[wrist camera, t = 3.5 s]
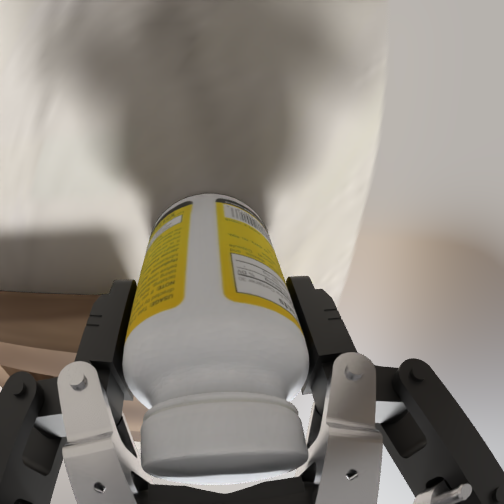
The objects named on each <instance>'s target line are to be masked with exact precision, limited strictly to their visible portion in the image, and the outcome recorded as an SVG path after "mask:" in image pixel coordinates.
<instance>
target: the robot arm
mask: <svg viewBox="0 0 504 504" xmlns="http://www.w3.org/2000/svg"><path fill="white" fill-rule="evenodd" d="M286 286H287V289H288V291H289V294H290V297H291V300H292V303H293V306H294V309H295V312H296V315H297V318H298V321H299V323H300V326H301V329H302V332H303V335H304V338H305V341H306V346H307V349H308V354H309V372H308V375H307V379H306V381H305V383H304V385H303V387H302V389H301V391H302V395H304V394H311V393H312V394H313V398H314V403H313V405H312V410H311V415H310V421H309V426H308V430H307V435H306V440H305V441H306V445H307V449H308V454H309V456H308V460H307V462H306V463H305V464H303V465H302V466H301V467H299V468H297V469H296V473H295V477H293V478H288V479H281V480H275V481H267V482H263V483H260V484H257V485H254V486H252V487H248V488H245V489H242V490H239V491H236V492H232V493H228V494H222V493H216V492H211V491H206V490H201V489H196V488H192V487H187V486H173V485H171V486H170V485H156V484H155V483H154V481H153V479H152V477H151V475H149V474H147V473H146V472H145V471H144V470H143V468H142V467H141V457H140V455H139V453H138V450H137V448H136V445H135V443H134V440H133V438H132V435H131V432H130V430H129V427H128V424H127V421H126V419H125V416H124V413H123V411H122V409H123V400H128V401H133V396H134V395H133V393H132V392H131V390H130V389H129V387H128V385H127V383H126V381H125V378H124V374H123V366H122V362H123V352H124V344H125V339H126V334H127V329H128V325H129V320H130V316H131V311H132V306H133V302H134V298H135V294H136V290H137V285H136V282H135V280H115V281H114V282H113V285H112V287H111V290H110V293H109V294H102V295H101V296H100V297H99V298H98V299H97V300H96V301H95V302H94V304H93V306H92V309H91V312H90V314H89V316H90V317H88V320H87V323H86V326H85V329H84V332H83V335H82V338H81V341H80V344H79V348H78V351H77V354H76V358H75V361H74V362H73V363H70V364H68V365H67V366H65V367H64V368H63V369H62V371H61V372H60V374H59V376H58V377H55V378H50V379H44V380H39V381H36V380H35V379H34V377H33V376H32V375H31V374H29V373H28V372H24V371H20V372H16V373H14V374H12V375H11V376H10V377H9V378H8V379H7V381H6V383H5V385H4V386H3V388H2V390H1V392H0V504H50V501H51V498H52V494H53V490H54V486H55V483H56V480H57V477H58V473H59V470H60V467H61V464H62V461H63V459H64V463H65V466H66V470H67V473H68V477H69V480H70V483H71V486H72V490H73V492H74V495H75V498H76V501H77V504H377V497H378V490H379V482H380V473H381V462H382V448H383V444H384V446H385V447H386V449H387V451H388V452H389V454H390V456H391V457H392V459H393V461H394V462H395V464H396V466H397V467H398V469H399V470H400V472H401V474H402V475H403V477H404V479H405V480H406V482H407V484H408V485H409V487H410V489H411V490H412V492H413V494H414V495H415V497H416V499H415V500H414V503H413V504H504V472H503V470H502V468H501V467H500V465H499V464H498V462H497V460H496V459H495V457H494V456H493V454H492V452H491V451H490V450H489V448H488V446H487V445H486V443H485V442H484V441H483V439H482V437H481V436H480V434H479V433H478V431H477V430H476V428H475V427H474V426H473V424H472V423H471V422H470V420H469V418H468V417H467V416H466V414H465V413H464V411H463V410H462V409H461V407H460V406H459V404H458V403H457V402H456V400H455V399H454V398H453V396H452V395H451V394H450V392H449V391H448V390H447V388H446V387H445V386H444V384H443V383H442V382H441V380H440V379H439V378H438V377H437V375H436V374H435V372H434V371H433V370H432V369H431V367H430V366H429V365H428V364H427V363H425V362H424V361H422V360H419V359H408V360H405V361H404V362H403V363H402V364H401V365H400V367H399V368H393V367H392V368H391V367H381V366H375V365H374V364H373V363H372V362H371V360H370V359H368V358H367V357H366V356H364V355H362V354H359V353H358V352H357V351H356V348H355V346H354V344H353V342H352V340H351V337H350V335H349V333H348V331H347V329H346V327H345V325H344V322H343V320H342V319H341V316H340V314H339V312H338V311H337V308H336V306H335V303H334V301H333V299H332V298H331V297H330V296H329V295H328V294H327V293H326V292H325V291H324V290H323V289H315V288H314V286H313V284H312V282H311V279H310V278H309V276H295V277H288V278H287V281H286ZM347 477H349V480H348V479H347ZM103 490H105V492H104V493H103Z"/></svg>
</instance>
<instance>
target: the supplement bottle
mask: <svg viewBox="0 0 504 504" xmlns="http://www.w3.org/2000/svg"><path fill="white" fill-rule="evenodd" d="M122 366H123V374H124V378H125V381H126V383H127V385H128V387H129V389H130V390H131V392H132V393H133V395H134V396H135V397H136V398H137V399H138V400H139V401H140V402H141V403H142V404H143V405H144V406H145V407H147V408H148V409H149V410H148V411H147V412H146V413H145V415H144V417H143V424H142V426H141V430H140V432H141V467H142V468H143V470H144V471H145V472H146V473H147V474H149V475H152V476H154V477H157V478H160V479H164V480H168V481H173V482H178V483H185V484H198V485H226V484H239V483H246V482H253V481H259V480H264V479H268V478H272V477H276V476H279V475H283V474H285V473H287V472H290V471H293V470H295V469H297V468H299V467H301V466H302V465H303V464H305V463H306V462H307V460H308V456H309V454H308V449H307V445H306V441H305V437H304V432H303V427H302V422H301V420H300V418H299V416H298V411H297V409H296V407H295V406H294V405H293V404H292V403H290V401H291V400H293V399H294V397H295V396H296V395H297V394H298V393H299V392H300V390H301V389H302V387H303V385H304V383H305V381H306V379H307V375H308V372H309V354H308V349H307V346H306V341H305V338H304V335H303V332H302V329H301V326H300V323H299V321H298V318H297V315H296V312H295V309H294V306H293V303H292V300H291V297H290V294H289V291H288V289H287V286H286V282H285V280H284V277H283V274H282V271H281V268H280V265H279V262H278V260H277V257H276V254H275V251H274V248H273V246H272V243H271V240H270V238H269V235H268V232H267V230H266V227H265V226H264V224H263V222H262V220H261V219H260V217H259V216H258V215H257V214H256V213H255V212H254V211H253V210H252V209H251V208H250V207H249V206H247V205H246V204H244V203H243V202H241V201H239V200H237V199H235V198H232V197H229V196H226V195H220V194H199V195H194V196H190V197H187V198H185V199H183V200H180V201H179V202H177V203H175V204H174V205H172V206H171V207H169V208H168V209H167V210H166V211H165V212H164V213H163V214H162V215H161V216H160V218H159V219H158V221H157V222H156V224H155V226H154V228H153V231H152V234H151V236H150V240H149V243H148V246H147V251H146V255H145V258H144V262H143V266H142V270H141V274H140V278H139V282H138V286H137V290H136V294H135V298H134V302H133V306H132V311H131V316H130V320H129V325H128V329H127V334H126V339H125V344H124V352H123V362H122Z"/></svg>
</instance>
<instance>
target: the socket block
mask: <svg viewBox="0 0 504 504" xmlns="http://www.w3.org/2000/svg"><path fill="white" fill-rule="evenodd" d="M100 296H101V295H74V294H47V293H26V292H9V291H0V386H1V387H2V388H3V386H4V385H5V383H6V381H7V379H8V378H9V377H10V376H11V375H12V374H14V373H16V372H20V371H24V372H28V373H29V374H31V375H32V376H33V377H34V379H35V380H36V381H39V380H44V379H50V378H55V377H58V376H59V374H60V372H61V371H62V369H63V368H64V367H65V366H67V365H68V364H70V363H73V362H74V361H75V358H76V354H77V351H78V348H79V344H80V341H81V338H82V335H83V332H84V329H85V326H86V323H87V320H88V317H90V316H89V314H90V312H91V309H92V306H93V304H94V302H95V301H96V300H97V299H98V298H99V297H100ZM148 410H149V409H148V408H147V407H145V406H144V405H143V404H142V403H141V402H140V401H139V400H138V399H137V398H136V397H135V396H133V401H128V400H123V409H122V411H123V413H124V416H125V419H126V421H127V424H128V427H129V430H130V432H131V435H132V438H133V440H134V441H138V442H141V432H140V430H141V426H142V424H143V417H144V415H145V413H146V412H147V411H148Z"/></svg>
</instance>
